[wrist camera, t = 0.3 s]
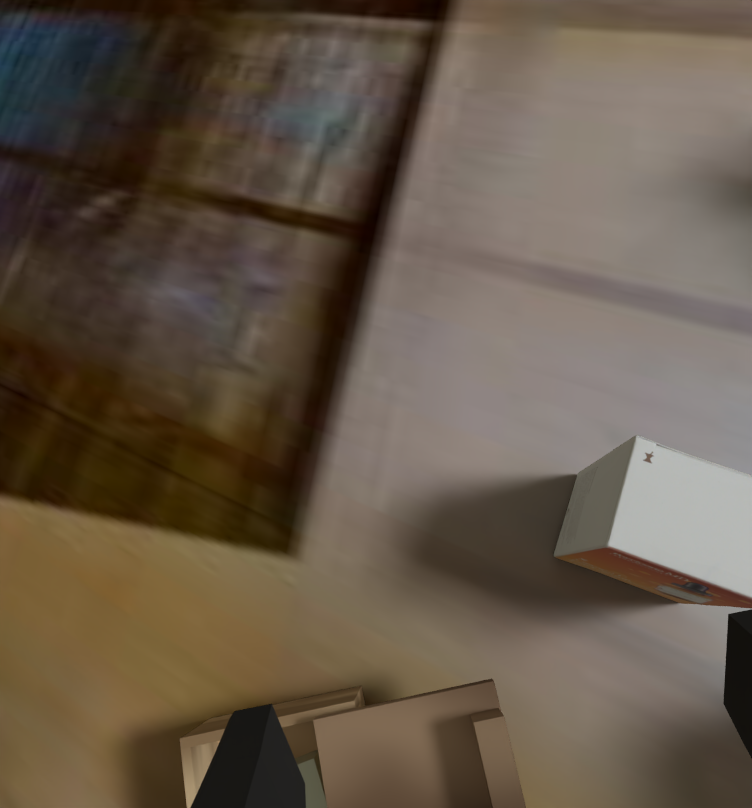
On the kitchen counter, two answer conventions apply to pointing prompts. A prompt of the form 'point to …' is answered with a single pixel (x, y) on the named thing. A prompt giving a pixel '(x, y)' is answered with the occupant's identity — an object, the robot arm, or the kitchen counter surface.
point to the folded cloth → (312, 779)
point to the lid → (420, 752)
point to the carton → (293, 721)
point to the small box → (663, 524)
